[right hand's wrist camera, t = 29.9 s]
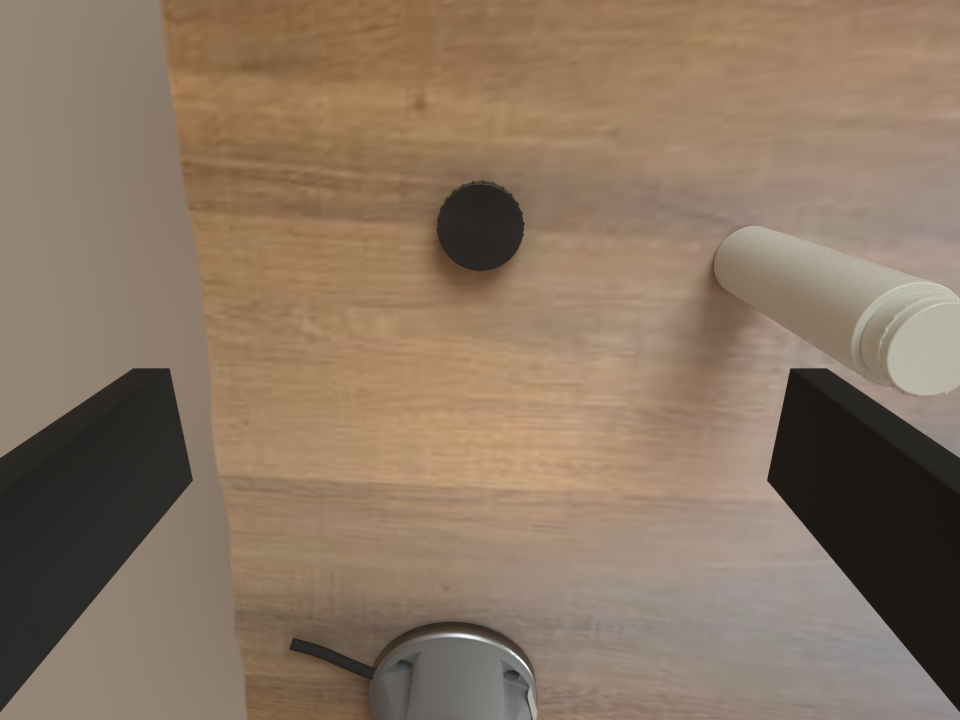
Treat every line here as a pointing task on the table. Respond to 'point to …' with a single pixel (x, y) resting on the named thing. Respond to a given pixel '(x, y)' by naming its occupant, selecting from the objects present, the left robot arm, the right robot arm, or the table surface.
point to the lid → (480, 226)
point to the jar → (849, 308)
